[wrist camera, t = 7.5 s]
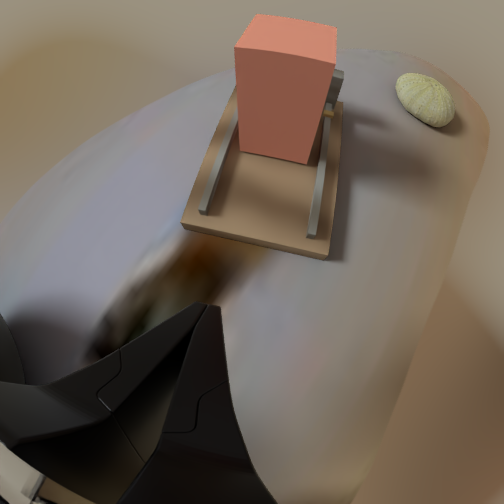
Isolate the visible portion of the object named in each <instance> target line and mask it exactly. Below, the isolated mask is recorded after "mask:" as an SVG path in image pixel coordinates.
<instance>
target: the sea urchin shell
mask: <svg viewBox="0 0 504 504" xmlns="http://www.w3.org/2000/svg"><path fill="white" fill-rule="evenodd" d="M396 91H397V95H398V99H399V100H400V101H401V103H402V105H403V106H404V108H405V109H406V110H407V111H408V112H410V113H411V114H412V115H414V116H415V117H417V118H418V119H420V120H422V121H423V122H424V123H427V124H429V125H431V126H433V127H442V126H445V125H447V124H448V123H449V122H450V121H451V120H452V119H453V117H454V113H455V103H454V101H453V98H452V96H451V95H450V93H449V92H448V90H446V88H445V87H444V86H443V85H442V84H441V83H439V82H437V81H436V80H435V79H433V78H430V77H428V76H425V75H420V74H417V73H416V74H414V73H408V74H404V75H402V76H401V77H399V79H398V80H397V83H396Z"/></svg>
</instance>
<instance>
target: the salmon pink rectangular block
mask: <svg viewBox="0 0 504 504" xmlns="http://www.w3.org/2000/svg"><path fill="white" fill-rule="evenodd" d="M336 35H337V28H336V27H332V26H328V25H323V24H318V23H314V22H309V21H304V20H298V19H292V18H286V17H279V16H271V15H261V14H256V16H255V17H254V18H253V20H252V21H251V23H250V24H249V26H248V27H247V29H246V30H245V31H244V33H243V34H242V36H241V38H240V39H239V41H238V42H237V44H236V45H235V47H234V49H235V50H234V51H235V71H236V90H237V109H238V127H239V145H240V151H244V152H250V153H255V154H260V155H265V156H270V157H275V158H280V159H285V160H289V161H294V162H298V163H302V164H306V165H307V161H308V158H309V155H310V151H311V148H312V145H313V141H314V138H315V135H316V131H317V128H318V125H319V121H320V118H321V114H322V111H323V107H324V104H325V100H326V97H327V93H328V90H329V86H330V83H331V79H332V76H333V72H334V68H335V65H336V37H337V36H336Z"/></svg>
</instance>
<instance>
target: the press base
mask: <svg viewBox="0 0 504 504" xmlns="http://www.w3.org/2000/svg"><path fill="white" fill-rule="evenodd" d="M343 80H344V71H340V70H337V69H334V72H333V76H332V79H331V83H330V86H329V90H328V93H327V97H326V100H325V104H324V107H323V111H322V114H321V118H320V121H319V125H318V128H317V131H316V135H315V138H314V141H313V145H312V148H311V151H310V155H309V158H308V161H307V165H306V164H302V163H298V162H294V161H289V160H285V159H280V158H275V157H270V156H265V155H260V154H255V153H250V152H244V151H240V145H239V127H238V109H237V90H236V86H235V88H234V91H233V93H232V95H231V97H230V99H229V101H228V104H227V106H226V108H225V110H224V112H223V115H222V117H221V119H220V121H219V124H218V126H217V128H216V131H215V133H214V135H213V138H212V140H211V142H210V145H209V147H208V150H207V152H206V155H205V157H204V160H203V162H202V165H201V167H200V170H199V172H198V175H197V178H196V180H195V183H194V186H193V188H192V191H191V194H190V196H189V199H188V202H187V205H186V207H185V210H184V213H183V216H182V219H181V222H180V223H181V224H182V226H183V227H184V229H187V230H191V231H196V232H200V233H205V234H209V235H214V236H218V237H223V238H227V239H232V240H236V241H241V242H245V243H249V244H254V245H258V246H263V247H267V248H271V249H276V250H280V251H285V252H289V253H293V254H298V255H302V256H306V257H311V258H315V259H319V260H324V259H325V258H326V257H327V256H328V253H329V246H330V239H331V232H332V225H333V217H334V209H335V201H336V192H337V182H338V172H339V161H340V148H341V134H342V115H343V102H339V101H337V98H338V95H339V92H340V89H341V86H342V83H343Z"/></svg>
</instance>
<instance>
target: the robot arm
mask: <svg viewBox="0 0 504 504" xmlns="http://www.w3.org/2000/svg"><path fill="white" fill-rule="evenodd" d="M0 504H278V503H277V502H276V500H275V499H274V498H273V496H272V495H271V493H270V492H269V491H268V489H267V488H266V486H265V485H264V483H263V482H262V480H261V479H260V477H259V476H258V474H257V472H256V470H255V468H254V466H253V464H252V462H251V459H250V457H249V454H248V451H247V448H246V446H245V443H244V440H243V437H242V434H241V431H240V428H239V425H238V422H237V419H236V415H235V412H234V408H233V403H232V398H231V392H230V384H229V377H228V369H227V361H226V352H225V343H224V334H223V325H222V315H221V308H220V306H216V305H211V304H210V305H208V304H206V303H202V302H194V303H192V304H191V305H189V306H188V307H186V308H184V309H183V310H181V311H180V312H178V313H176V314H175V315H173V316H172V317H170V318H168V319H167V320H165V321H164V322H162V323H160V324H159V325H157V326H156V327H154V328H152V329H151V330H149V331H147V332H146V333H144V334H143V335H141V336H139V337H138V338H136V339H134V340H133V341H131V342H130V343H128V344H126V345H125V346H123V347H121V348H120V350H119V349H118V350H116V351H115V352H113V353H111V354H110V355H108V356H106V357H104V358H103V359H101V360H99V361H97V362H95V363H93V364H91V365H89V366H87V367H85V368H83V369H81V370H79V371H77V372H74V373H72V374H70V375H68V376H66V377H63V378H61V379H59V380H57V381H54V382H52V383H49V384H45V385H40V386H30V385H22V384H14V383H7V382H1V381H0Z"/></svg>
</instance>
